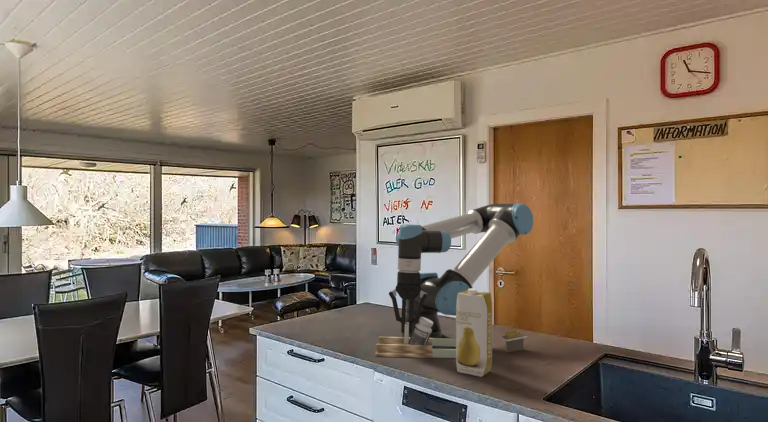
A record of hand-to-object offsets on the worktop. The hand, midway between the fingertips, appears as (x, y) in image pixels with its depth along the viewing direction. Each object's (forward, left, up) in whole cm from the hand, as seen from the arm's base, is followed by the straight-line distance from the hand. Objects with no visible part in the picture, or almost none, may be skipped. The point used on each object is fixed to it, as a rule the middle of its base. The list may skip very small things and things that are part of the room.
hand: (406, 342), depth 163 cm
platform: (-35, -4, -3) cm, 36 cm away
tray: (-15, 0, -3) cm, 16 cm away
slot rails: (+1, 0, -3) cm, 3 cm away
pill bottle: (-3, 0, -2) cm, 3 cm away
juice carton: (-20, +20, -3) cm, 28 cm away
